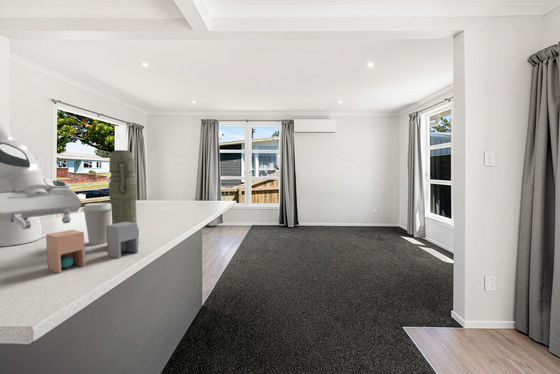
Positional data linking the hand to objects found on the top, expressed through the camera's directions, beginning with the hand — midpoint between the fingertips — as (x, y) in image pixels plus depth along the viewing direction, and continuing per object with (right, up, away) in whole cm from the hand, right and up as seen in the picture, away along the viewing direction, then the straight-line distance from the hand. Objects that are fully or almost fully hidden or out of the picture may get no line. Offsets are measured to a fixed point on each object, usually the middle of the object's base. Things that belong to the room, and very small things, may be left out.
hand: (48, 224), depth 78 cm
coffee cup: (-1, -11, +24) cm, 26 cm away
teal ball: (+7, -10, -2) cm, 13 cm away
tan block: (+7, -12, -2) cm, 14 cm away
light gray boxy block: (+16, -11, +10) cm, 22 cm away
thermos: (+11, -11, +21) cm, 26 cm away
